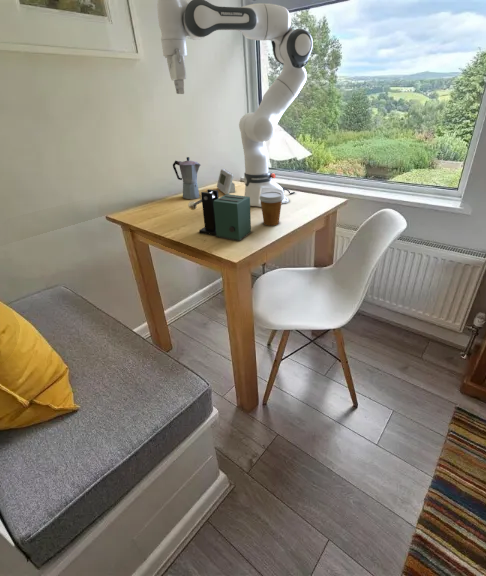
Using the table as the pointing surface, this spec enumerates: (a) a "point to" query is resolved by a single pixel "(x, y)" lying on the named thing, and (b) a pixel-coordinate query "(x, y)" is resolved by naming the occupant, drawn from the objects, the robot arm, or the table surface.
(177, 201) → the table surface
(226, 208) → the toaster
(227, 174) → the digital clock
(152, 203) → the table surface
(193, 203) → the lever
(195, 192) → the moka pot
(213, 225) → the lever bracket
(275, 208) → the disposable coffee cup
